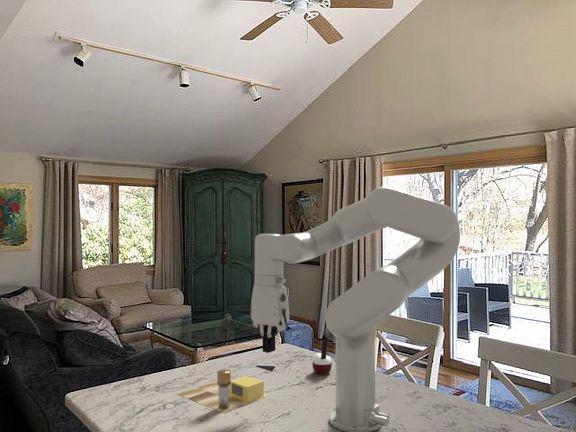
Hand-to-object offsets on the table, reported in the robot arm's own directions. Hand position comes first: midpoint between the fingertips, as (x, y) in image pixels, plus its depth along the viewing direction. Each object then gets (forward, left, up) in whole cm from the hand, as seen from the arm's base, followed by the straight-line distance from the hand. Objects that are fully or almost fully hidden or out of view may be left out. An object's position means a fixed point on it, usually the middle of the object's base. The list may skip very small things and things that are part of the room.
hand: (268, 351), depth 121 cm
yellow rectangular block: (+8, 0, -14) cm, 16 cm away
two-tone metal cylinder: (+7, +9, -14) cm, 18 cm away
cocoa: (+6, -32, -15) cm, 36 cm away
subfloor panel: (+14, +3, -15) cm, 21 cm away
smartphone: (+21, -20, -16) cm, 33 cm away
